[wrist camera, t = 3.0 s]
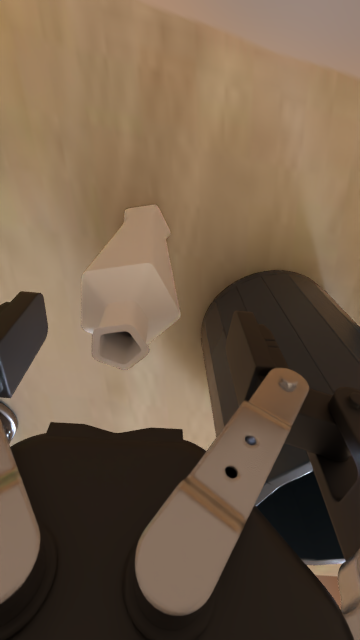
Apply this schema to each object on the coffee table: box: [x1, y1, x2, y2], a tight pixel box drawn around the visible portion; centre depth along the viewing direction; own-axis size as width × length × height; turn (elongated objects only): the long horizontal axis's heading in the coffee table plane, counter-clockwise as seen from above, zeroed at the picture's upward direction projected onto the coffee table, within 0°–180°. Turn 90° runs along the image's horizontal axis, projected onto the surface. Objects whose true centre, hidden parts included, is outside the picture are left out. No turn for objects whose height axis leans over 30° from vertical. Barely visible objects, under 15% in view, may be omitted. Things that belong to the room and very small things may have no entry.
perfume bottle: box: [81, 205, 181, 370], centre depth 17 cm, size 5×4×15 cm
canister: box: [201, 270, 360, 565], centre depth 22 cm, size 13×13×17 cm
